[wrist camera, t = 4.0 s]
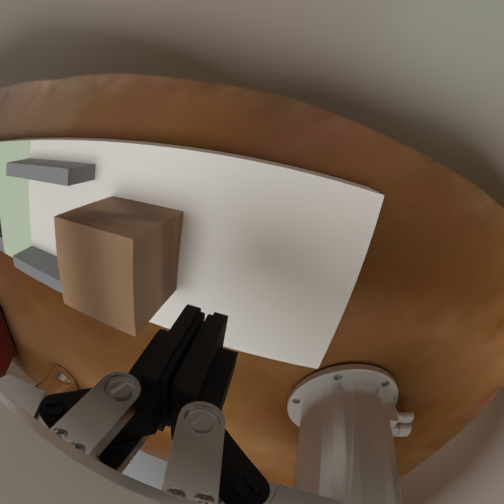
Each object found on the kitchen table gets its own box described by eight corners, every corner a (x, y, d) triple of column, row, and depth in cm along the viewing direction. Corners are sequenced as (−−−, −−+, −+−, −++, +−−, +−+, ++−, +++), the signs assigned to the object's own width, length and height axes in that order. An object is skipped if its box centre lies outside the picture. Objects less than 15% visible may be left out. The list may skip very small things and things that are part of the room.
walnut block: (183, 211, 17) (133, 239, 12) (176, 289, 20) (135, 337, 14) (112, 196, 18) (54, 216, 12) (112, 268, 20) (64, 303, 15)
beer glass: (63, 385, 39) (23, 433, 25) (47, 359, 36) (1, 406, 23) (86, 395, 37) (44, 449, 24) (69, 367, 35) (19, 423, 21)
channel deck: (369, 187, 18) (400, 204, 12) (317, 339, 24) (317, 396, 17) (-4, 140, 23) (-40, 147, 17) (-2, 229, 28) (-34, 244, 22)
